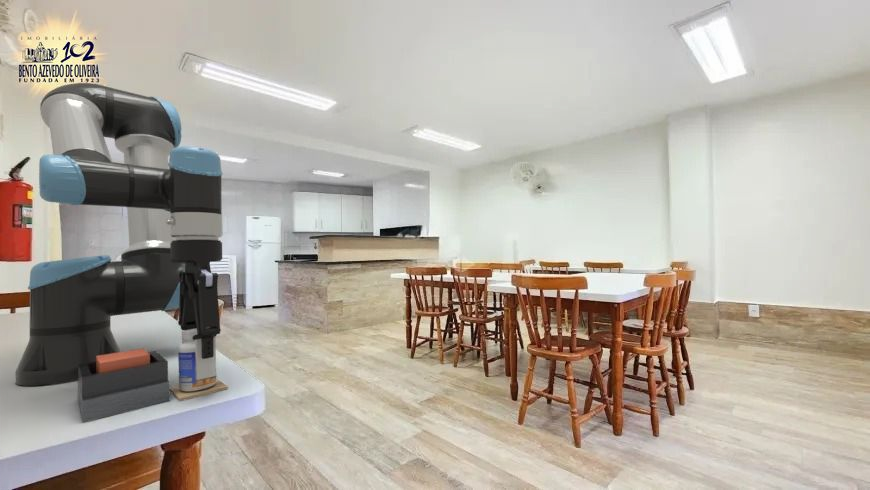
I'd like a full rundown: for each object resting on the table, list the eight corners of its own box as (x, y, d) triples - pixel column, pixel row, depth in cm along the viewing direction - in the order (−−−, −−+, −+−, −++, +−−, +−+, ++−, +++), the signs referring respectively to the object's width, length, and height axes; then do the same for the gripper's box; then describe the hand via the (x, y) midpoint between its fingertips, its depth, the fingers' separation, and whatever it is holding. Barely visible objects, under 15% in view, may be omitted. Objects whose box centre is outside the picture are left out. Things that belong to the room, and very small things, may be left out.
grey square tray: (78, 400, 60) (77, 362, 60) (154, 383, 67) (154, 350, 67) (82, 422, 52) (82, 379, 52) (169, 400, 59) (169, 362, 59)
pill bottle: (198, 392, 60) (196, 332, 61) (171, 392, 61) (169, 333, 62) (224, 381, 66) (222, 326, 66) (198, 381, 67) (196, 326, 67)
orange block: (96, 387, 59) (96, 355, 59) (143, 377, 64) (143, 348, 64) (100, 396, 55) (99, 363, 55) (150, 385, 59) (149, 354, 60)
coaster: (169, 390, 63) (169, 388, 63) (215, 379, 68) (215, 377, 68) (179, 401, 58) (179, 398, 58) (227, 388, 64) (227, 386, 64)
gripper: (157, 241, 68) (159, 365, 68) (187, 236, 54) (188, 393, 54) (204, 241, 74) (205, 356, 73) (242, 236, 59) (244, 379, 59)
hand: (198, 371), depth 63 cm, fingers open, 8 cm apart
